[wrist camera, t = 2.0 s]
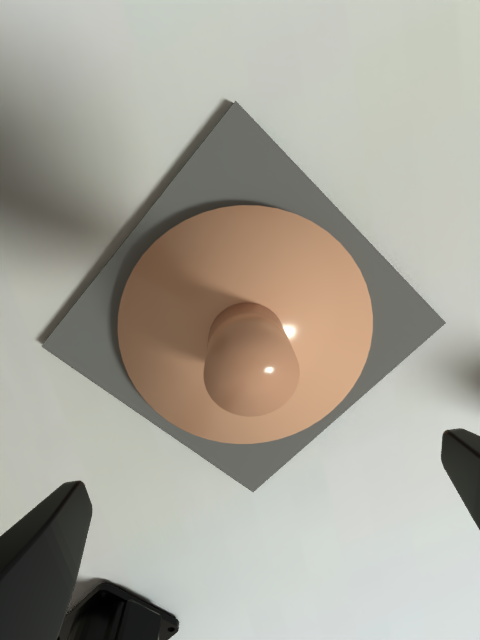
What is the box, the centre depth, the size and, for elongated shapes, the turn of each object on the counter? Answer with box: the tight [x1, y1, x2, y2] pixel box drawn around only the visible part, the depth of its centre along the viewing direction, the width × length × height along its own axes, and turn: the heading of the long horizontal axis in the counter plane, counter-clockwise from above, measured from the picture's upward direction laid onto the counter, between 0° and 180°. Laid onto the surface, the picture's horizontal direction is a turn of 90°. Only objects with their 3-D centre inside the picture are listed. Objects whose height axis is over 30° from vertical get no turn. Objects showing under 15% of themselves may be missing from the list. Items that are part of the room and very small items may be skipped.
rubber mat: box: [42, 101, 445, 492], centre depth 17 cm, size 14×14×1 cm
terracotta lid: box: [118, 205, 373, 444], centre depth 15 cm, size 12×12×4 cm
